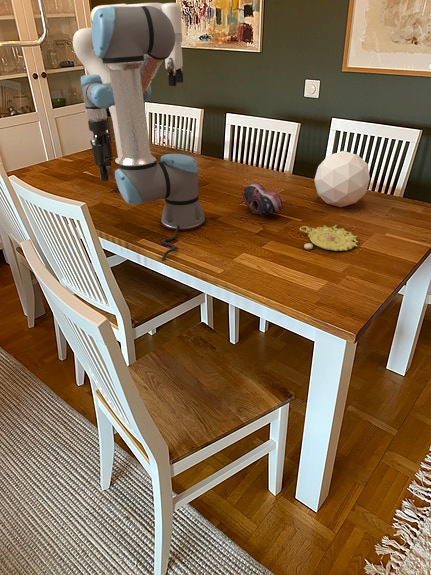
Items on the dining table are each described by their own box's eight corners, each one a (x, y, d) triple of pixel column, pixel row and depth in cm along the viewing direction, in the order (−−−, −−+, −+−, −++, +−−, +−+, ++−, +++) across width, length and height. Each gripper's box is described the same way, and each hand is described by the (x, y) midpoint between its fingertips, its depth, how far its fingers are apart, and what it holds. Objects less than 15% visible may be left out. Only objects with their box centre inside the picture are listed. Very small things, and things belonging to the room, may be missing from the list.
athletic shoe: (254, 181, 170) (227, 189, 167) (283, 176, 151) (253, 185, 147) (260, 210, 173) (234, 218, 170) (290, 209, 154) (261, 219, 150)
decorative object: (343, 255, 128) (285, 234, 139) (342, 262, 130) (284, 241, 140) (372, 230, 142) (317, 213, 152) (371, 237, 143) (316, 219, 153)
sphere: (345, 225, 166) (360, 196, 147) (300, 198, 170) (308, 167, 152) (371, 189, 170) (388, 157, 152) (326, 164, 175) (337, 130, 156)
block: (104, 177, 185) (102, 165, 182) (114, 177, 184) (112, 166, 181) (100, 180, 181) (98, 168, 179) (110, 181, 181) (108, 169, 178)
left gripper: (171, 37, 189) (174, 81, 198) (157, 40, 175) (161, 87, 184) (187, 37, 188) (190, 81, 197) (175, 40, 173) (178, 87, 183)
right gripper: (98, 114, 178) (107, 171, 190) (78, 124, 164) (89, 185, 176) (115, 114, 176) (123, 172, 189) (96, 124, 162) (107, 186, 175)
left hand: (176, 84), depth 190 cm, fingers open, 9 cm apart
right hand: (107, 178), depth 183 cm, fingers closed on block, 4 cm apart
